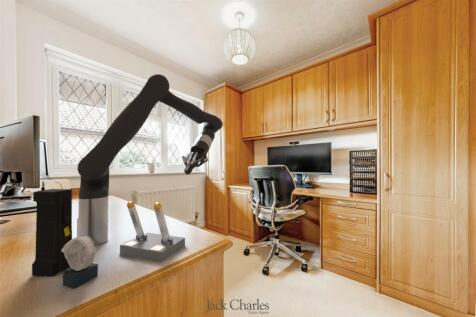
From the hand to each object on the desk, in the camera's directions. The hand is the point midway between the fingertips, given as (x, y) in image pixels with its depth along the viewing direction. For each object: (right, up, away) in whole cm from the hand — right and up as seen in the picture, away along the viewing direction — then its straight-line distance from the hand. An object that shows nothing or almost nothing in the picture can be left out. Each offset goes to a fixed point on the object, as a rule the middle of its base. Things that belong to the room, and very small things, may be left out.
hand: (186, 173), depth 78 cm
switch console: (-8, -26, -12) cm, 30 cm away
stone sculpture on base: (-19, -26, -29) cm, 43 cm away
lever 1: (-13, -22, -10) cm, 28 cm away
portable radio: (-30, -26, -24) cm, 47 cm away
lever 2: (-3, -22, -14) cm, 26 cm away
